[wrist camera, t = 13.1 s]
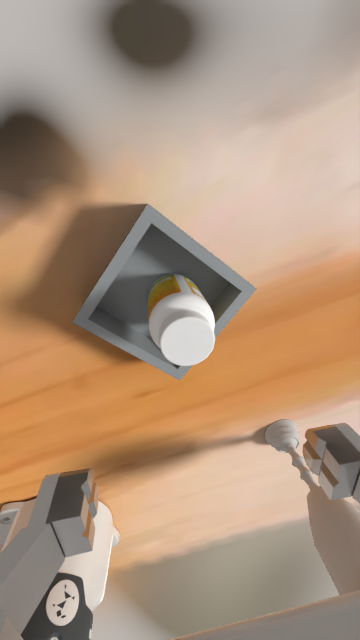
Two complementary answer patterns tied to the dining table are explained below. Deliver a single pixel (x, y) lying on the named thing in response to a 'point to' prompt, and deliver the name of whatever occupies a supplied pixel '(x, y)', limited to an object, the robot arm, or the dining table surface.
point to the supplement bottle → (180, 320)
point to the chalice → (325, 516)
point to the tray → (140, 274)
